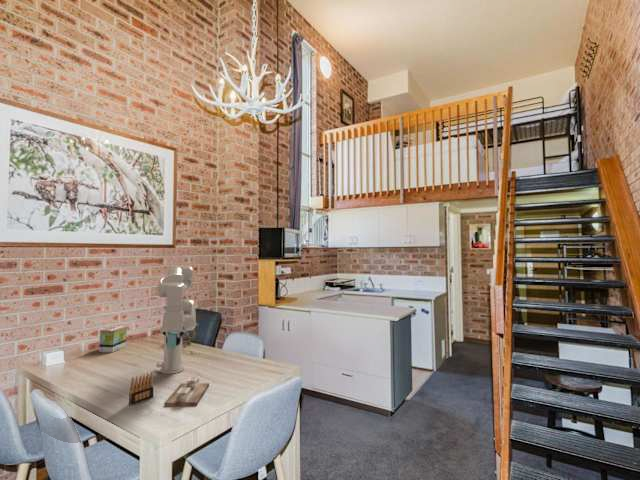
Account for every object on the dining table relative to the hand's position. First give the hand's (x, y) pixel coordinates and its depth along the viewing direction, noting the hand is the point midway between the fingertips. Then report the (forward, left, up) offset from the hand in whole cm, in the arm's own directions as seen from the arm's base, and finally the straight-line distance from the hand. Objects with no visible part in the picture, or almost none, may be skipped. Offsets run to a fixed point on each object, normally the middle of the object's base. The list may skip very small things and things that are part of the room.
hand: (173, 344), depth 173 cm
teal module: (0, 0, -1) cm, 1 cm away
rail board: (+12, -11, -21) cm, 26 cm away
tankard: (-20, +84, -21) cm, 89 cm away
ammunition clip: (-8, -16, -21) cm, 28 cm away
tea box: (-63, +67, -21) cm, 94 cm away
